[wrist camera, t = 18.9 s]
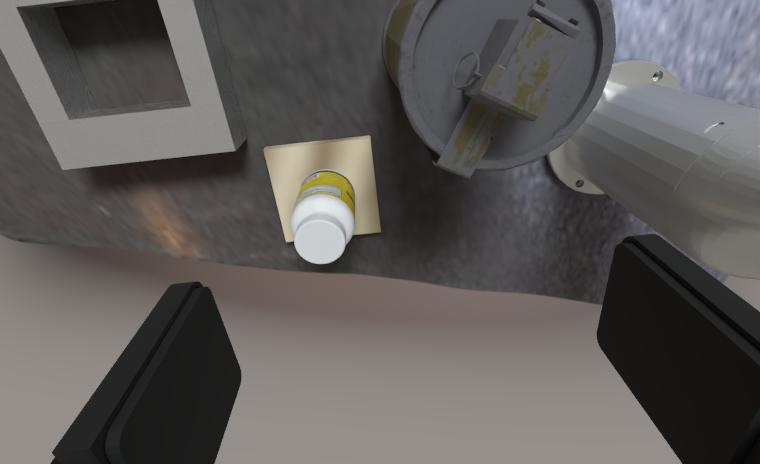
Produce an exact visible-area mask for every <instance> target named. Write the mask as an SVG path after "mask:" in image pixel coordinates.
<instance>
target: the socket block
mask: <svg viewBox="0 0 760 464" xmlns="http://www.w3.org/2000/svg"><path fill="white" fill-rule="evenodd" d="M107 1H115V0H0V48H1V50H2V52H3V54H4V56H5V58H6V60H7V62H8V64H9V66H10V68H11V70H12V72H13V73H14V75H15V77H16V79H17V81H18V83H19V85H20V87H21V89H22V91H23V93H24V95H25V97H26V99H27V101H28V103H29V105H30V107H31V109H32V111H33V113H34V115H35V117H36V119H37V121H38V122H39V124H40V126H41V128H42V130H43V132H44V134H45V136H46V138H47V140H48V142H49V144H50V146H51V148H52V150H53V152H54V154H55V156H56V158H57V160H58V162H59V164H60V166H61V168H62V170H67V169H76V168H85V167H94V166H103V165H112V164H122V163H131V162H140V161H149V160H158V159H167V158H177V157H186V156H195V155H204V154H213V153H222V152H232V151H236V150H237V149H238V148H239V147H240V146H241V145H242V143H243V142H244V141H245V140H246V139H247V135H246V131H245V127H244V123H243V120H242V116H241V112H240V108H239V104H238V101H237V97H236V93H235V89H234V85H233V82H232V78H231V74H230V70H229V66H228V63H227V59H226V55H225V51H224V48H223V44H222V40H221V36H220V32H219V29H218V25H217V21H216V17H215V13H214V10H213V6H212V2H211V0H157V1H158V4H159V7H160V10H161V13H162V16H163V20H164V23H165V26H166V29H167V32H168V35H169V38H170V41H171V45H172V48H173V51H174V54H175V57H176V60H177V63H178V66H179V70H180V73H181V76H182V79H183V82H184V85H185V88H186V91H187V95H188V98H189V99H187V100H178V101H169V102H160V103H151V104H142V105H133V106H124V107H115V108H106V109H98V108H97V106H96V104H95V102H94V99H93V97H92V95H91V92H90V90H89V88H88V85H87V83H86V81H85V78H84V76H83V74H82V71H81V69H80V67H79V64H78V62H77V60H76V58H75V55H74V53H73V51H72V48H71V46H70V44H69V41H68V39H67V37H66V34H65V32H64V30H63V27H62V25H61V23H60V20H59V18H58V16H57V13H56V11H55V9H54V8H55V7H63V6H72V5H81V4H89V3H98V2H107Z"/></svg>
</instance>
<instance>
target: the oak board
mask: <svg viewBox="0 0 760 464" xmlns="http://www.w3.org/2000/svg"><path fill="white" fill-rule="evenodd" d="M264 154H265V158H266V162H267V167H268V171H269V175H270V179H271V183H272V187H273V191H274V195H275V199H276V203H277V207H278V211H279V215H280V219H281V223H282V227H283V231H284V235H285V239H286V242H292V241H294V237H293V234H292V232H291V227H290V221H291V216H292V212H293V209H294V206H295V203H296V200H297V197H298V194H299V190H300V188H301V185H302V183H303V181H304V180H305V179H306V177H307V176H309V175H310V174H311V173H313V172H315V171H318V170H322V169H331V170H335V171H338V172H340V173H342V174H343V175H345V176H346V177H347V178H348V179H349V180H350V182H351V183H352V185H353V188H354V192H355V226H354V232H353V235H359V234H368V233H378V232H381V228H380V219H379V210H378V201H377V192H376V183H375V175H374V166H373V157H372V148H371V139H370V135H369V136H360V137H350V138H341V139H332V140H323V141H314V142H305V143H295V144H286V145H277V146H268V147H265V148H264Z"/></svg>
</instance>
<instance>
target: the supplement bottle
mask: <svg viewBox="0 0 760 464" xmlns="http://www.w3.org/2000/svg"><path fill="white" fill-rule="evenodd" d="M354 226H355V192H354V188H353V185H352V183H351V182H350V180H349V179H348V178H347V177H346V176H345V175H343V174H342V173H340V172H338V171H335V170H331V169H322V170H318V171H315V172H313V173H311V174H310V175H309V176H307V177H306V179H305V180H304V181H303V183H302V185H301V188H300V190H299V194H298V197H297V200H296V203H295V206H294V209H293V212H292V216H291V221H290V227H291V232H292V234H293V237H294V244H295V248H296V250H297V252H298V253H299V255H300V256H301V257H302V258H304V259H305V260H307V261H309V262H311V263H315V264H327V263H330V262H333V261H335V260H336V259H338V258H339V257H340V256H341V254H342V253H343V251H344V249H345V245H346V244H347V243H348V242H349V241H350V239H351V237H352V235H353V232H354Z"/></svg>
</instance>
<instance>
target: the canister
mask: <svg viewBox="0 0 760 464" xmlns="http://www.w3.org/2000/svg"><path fill="white" fill-rule="evenodd" d="M615 47H616V38H615V21H614V15H613V10H612V4H611V0H396V2H395V3H394V5H393V6H392V8H391V11H390V13H389V15H388V18H387V20H386V23H385V27H384V33H383V57H384V61H385V65H386V68H387V71H388V73H389V75H390V77H391V78H392V80H393V82H394V83H395V85H396V86H397V87H398V88H399V91H400V95H401V100H402V104H403V108H404V110H405V113H406V115H407V117H408V120H409V122H410V124H411V126H412V127H413V129H414V130H415V132H416V133H417V134H418V136H419V137H420V138H421V139H422V140H423V142H424V145H425V147H426V149H427V151H428V153H429V155H430V157H431V160H432V162H433V164H434V166H437V167H439V168H442V169H444V170H446V171H449V172H451V173H454V174H456V175H458V176H461V177H463V178H466V179H469V178H470V177H471V175H472V174H473V172H474V170H480V171H503V170H507V169H511V168H514V167H518V166H522V165H525V164H529V163H532V162H535V161H537V160H539V159H540V158H542V157H544V156H545V155H547V154H548V153H550V152H552V151H553V150H555V149H556V148H558V147H559V146H560V145H562V144H563V143H564V142H565V141H566V140H567V139H569V138H570V137H571V136H572V135H573V134H574V133H575V132H576V131H577V130H578V129H579V127H580V126H581V125H582V123H583V122H584V121H585V120H586V118H587V117H588V116H589V115H590V113H591V112H592V111H593V109H594V108H595V107H596V105H597V103H598V101H599V99H600V97H601V95H602V93H603V90H604V88H605V85H606V82H607V80H608V77H609V74H610V72H611V68H612V63H613V58H614V53H615Z"/></svg>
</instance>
